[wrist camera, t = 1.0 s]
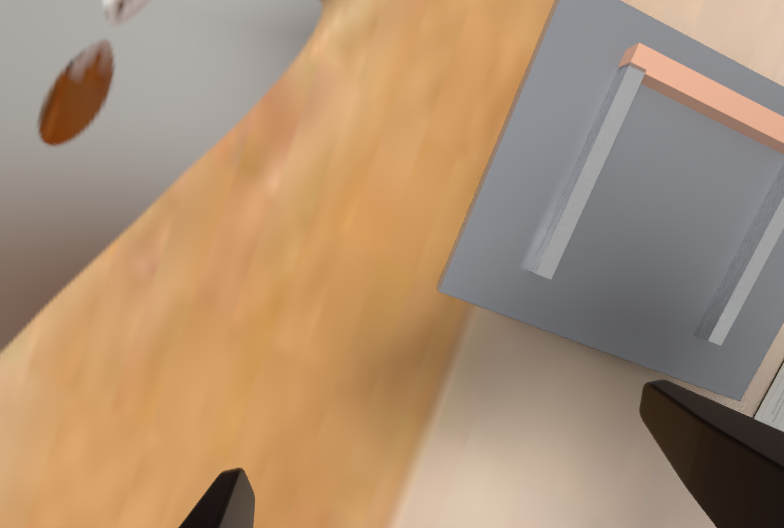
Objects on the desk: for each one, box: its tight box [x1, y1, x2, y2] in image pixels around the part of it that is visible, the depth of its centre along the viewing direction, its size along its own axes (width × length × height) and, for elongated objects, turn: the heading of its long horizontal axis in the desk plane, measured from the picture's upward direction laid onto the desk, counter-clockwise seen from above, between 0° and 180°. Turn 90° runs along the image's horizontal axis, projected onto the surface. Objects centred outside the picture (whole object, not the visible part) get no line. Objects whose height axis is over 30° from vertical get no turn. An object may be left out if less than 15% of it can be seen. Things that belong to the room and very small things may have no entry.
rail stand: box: [436, 0, 784, 401], centre depth 23 cm, size 18×22×2 cm
